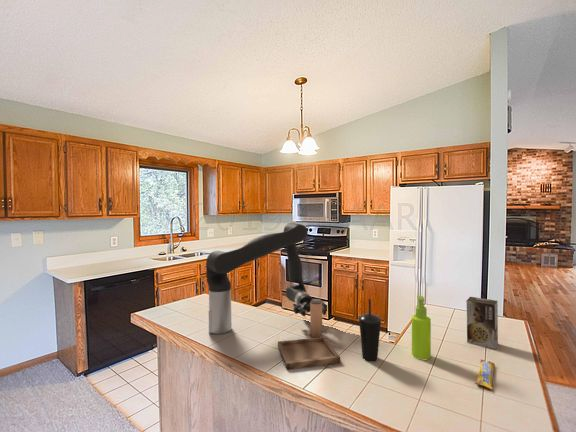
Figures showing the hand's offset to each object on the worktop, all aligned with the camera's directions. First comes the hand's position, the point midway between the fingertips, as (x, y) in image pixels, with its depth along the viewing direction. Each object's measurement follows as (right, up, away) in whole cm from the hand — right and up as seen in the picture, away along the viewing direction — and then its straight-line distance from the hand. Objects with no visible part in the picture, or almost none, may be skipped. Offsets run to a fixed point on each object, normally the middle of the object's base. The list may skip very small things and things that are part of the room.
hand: (314, 313), depth 120 cm
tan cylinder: (+1, -8, -2) cm, 8 cm away
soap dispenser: (+35, -8, -19) cm, 41 cm away
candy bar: (+48, -9, -32) cm, 59 cm away
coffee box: (+62, -8, -11) cm, 63 cm away
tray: (-4, -8, -18) cm, 21 cm away
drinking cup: (+17, -8, -21) cm, 28 cm away
